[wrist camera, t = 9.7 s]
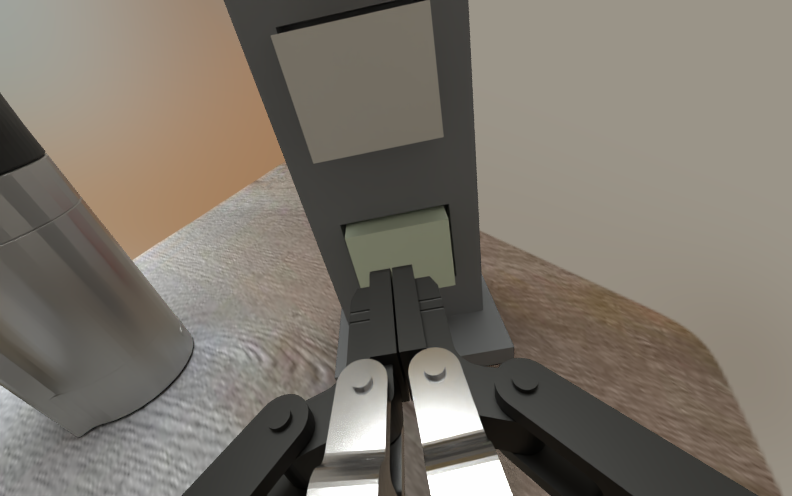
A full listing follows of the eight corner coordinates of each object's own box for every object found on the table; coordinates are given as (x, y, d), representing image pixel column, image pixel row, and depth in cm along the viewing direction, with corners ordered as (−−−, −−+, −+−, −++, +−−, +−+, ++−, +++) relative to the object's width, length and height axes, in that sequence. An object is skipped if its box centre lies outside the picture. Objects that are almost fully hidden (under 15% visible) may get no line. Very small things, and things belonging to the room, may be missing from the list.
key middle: (443, 136, 15) (429, -1, 12) (313, 163, 15) (270, 35, 12) (434, 123, 17) (421, 3, 14) (320, 146, 17) (284, 33, 14)
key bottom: (455, 285, 21) (448, 218, 19) (365, 301, 22) (344, 238, 19) (448, 262, 24) (440, 199, 21) (365, 277, 24) (347, 217, 21)
